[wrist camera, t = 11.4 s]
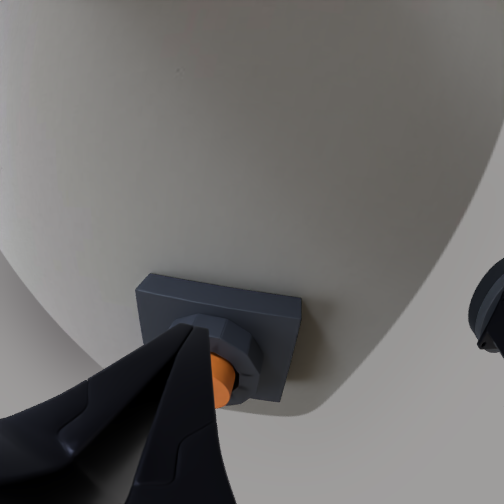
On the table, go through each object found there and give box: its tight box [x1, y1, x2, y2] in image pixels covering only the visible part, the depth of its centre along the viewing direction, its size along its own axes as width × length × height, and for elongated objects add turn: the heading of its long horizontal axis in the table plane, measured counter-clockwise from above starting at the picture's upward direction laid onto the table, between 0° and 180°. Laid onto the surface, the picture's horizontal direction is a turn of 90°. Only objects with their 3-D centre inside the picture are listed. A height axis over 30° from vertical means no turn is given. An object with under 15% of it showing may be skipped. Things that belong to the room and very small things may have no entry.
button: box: [210, 352, 235, 409], centre depth 16 cm, size 4×4×2 cm
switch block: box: [135, 273, 301, 406], centre depth 18 cm, size 10×8×4 cm
